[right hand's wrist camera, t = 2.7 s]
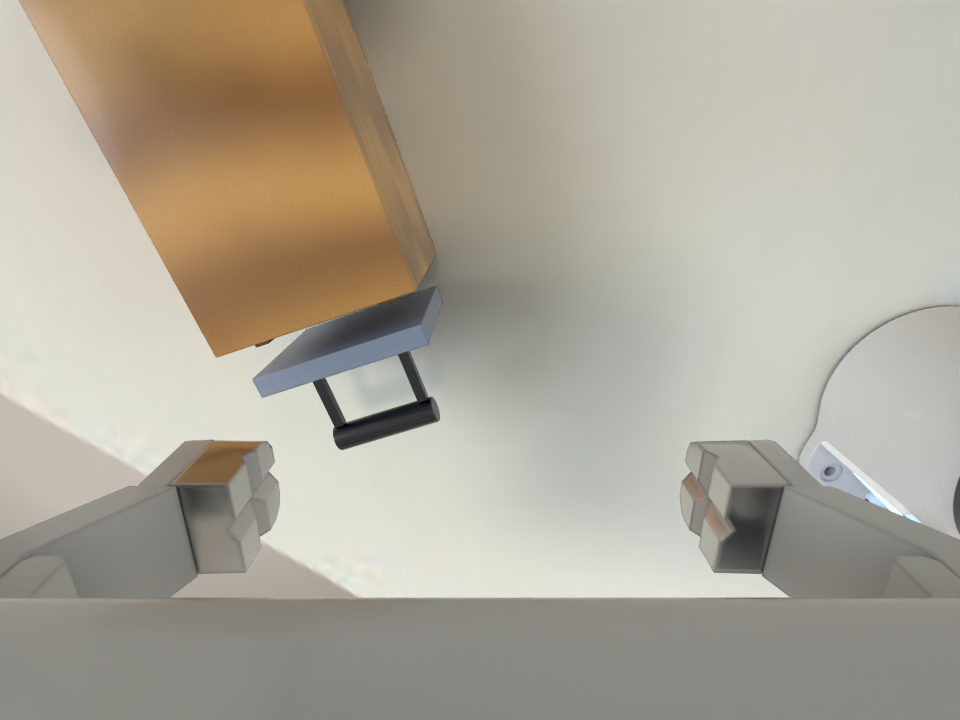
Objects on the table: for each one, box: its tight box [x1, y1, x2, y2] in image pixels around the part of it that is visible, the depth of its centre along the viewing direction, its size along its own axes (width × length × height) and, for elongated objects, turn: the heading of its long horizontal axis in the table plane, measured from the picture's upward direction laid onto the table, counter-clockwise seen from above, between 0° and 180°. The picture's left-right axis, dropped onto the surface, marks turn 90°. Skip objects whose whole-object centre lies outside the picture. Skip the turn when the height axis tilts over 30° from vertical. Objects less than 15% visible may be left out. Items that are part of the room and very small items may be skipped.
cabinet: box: [19, 0, 436, 357], centre depth 28 cm, size 20×11×11 cm, turn 19°
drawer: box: [253, 286, 443, 450], centre depth 30 cm, size 24×10×9 cm, turn 19°
